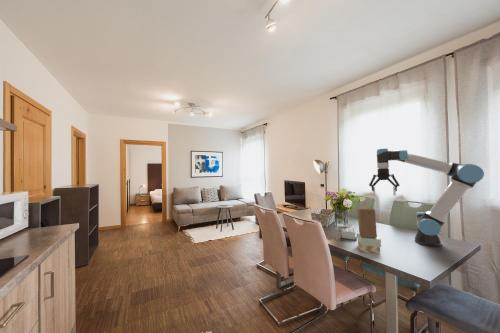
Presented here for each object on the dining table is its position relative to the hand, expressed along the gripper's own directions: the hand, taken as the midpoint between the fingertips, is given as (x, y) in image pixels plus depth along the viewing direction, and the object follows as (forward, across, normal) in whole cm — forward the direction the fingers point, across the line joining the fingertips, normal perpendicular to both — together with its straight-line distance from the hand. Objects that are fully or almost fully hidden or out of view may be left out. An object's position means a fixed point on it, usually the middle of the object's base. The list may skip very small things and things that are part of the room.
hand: (384, 195), depth 160 cm
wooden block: (+27, +16, +20) cm, 37 cm away
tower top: (+32, +15, +20) cm, 41 cm away
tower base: (+37, +16, +20) cm, 45 cm away
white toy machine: (+37, +25, -6) cm, 45 cm away
